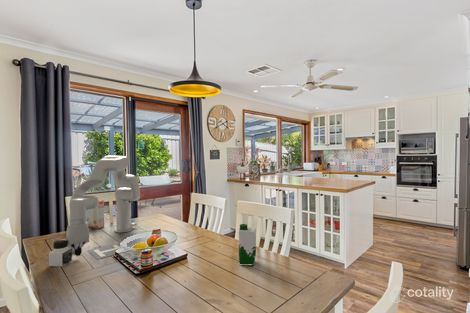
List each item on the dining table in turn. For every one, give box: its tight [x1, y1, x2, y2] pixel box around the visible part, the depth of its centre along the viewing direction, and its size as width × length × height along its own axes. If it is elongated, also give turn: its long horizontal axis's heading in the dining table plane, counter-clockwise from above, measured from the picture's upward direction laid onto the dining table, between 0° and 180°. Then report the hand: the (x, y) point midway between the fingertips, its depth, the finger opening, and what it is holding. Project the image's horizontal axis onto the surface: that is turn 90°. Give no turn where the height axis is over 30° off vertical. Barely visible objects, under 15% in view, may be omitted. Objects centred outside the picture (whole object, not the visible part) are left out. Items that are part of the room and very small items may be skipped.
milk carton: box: [238, 223, 257, 265], centre depth 132 cm, size 9×9×20 cm
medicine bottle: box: [48, 238, 73, 267], centre depth 130 cm, size 7×7×12 cm
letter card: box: [87, 242, 121, 260], centre depth 147 cm, size 18×17×1 cm
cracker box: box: [86, 199, 105, 230], centre depth 194 cm, size 14×6×21 cm, turn 65°
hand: (78, 255), depth 135 cm, fingers closed
